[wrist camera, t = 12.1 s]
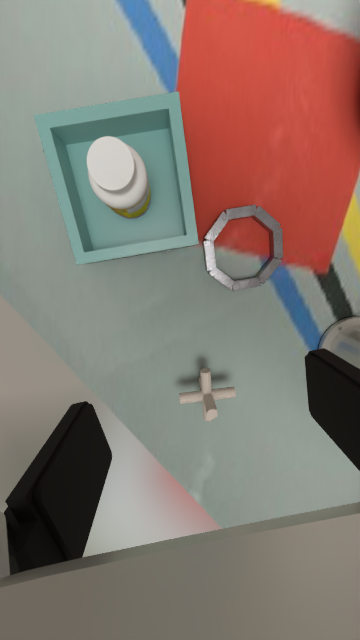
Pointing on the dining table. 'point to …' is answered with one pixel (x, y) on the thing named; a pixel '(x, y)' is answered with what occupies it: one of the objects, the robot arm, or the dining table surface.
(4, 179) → the dining table surface
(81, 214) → the bin
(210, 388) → the pipe connector
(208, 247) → the collar
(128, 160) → the supplement bottle
